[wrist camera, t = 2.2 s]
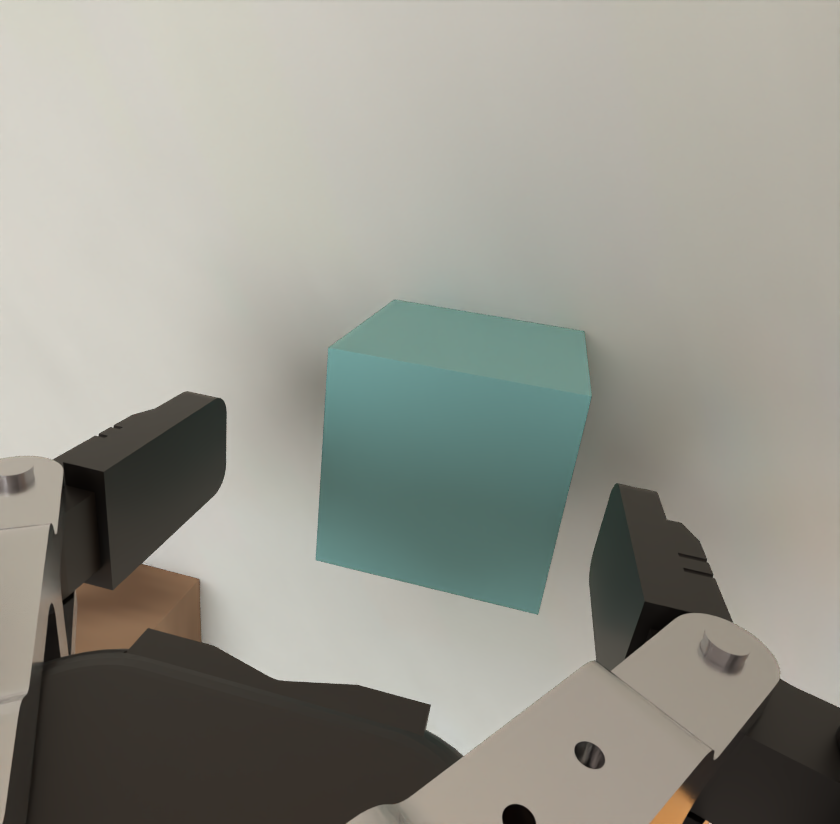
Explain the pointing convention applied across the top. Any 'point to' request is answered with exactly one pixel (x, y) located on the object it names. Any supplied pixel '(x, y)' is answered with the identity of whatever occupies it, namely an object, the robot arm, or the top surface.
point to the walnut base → (137, 609)
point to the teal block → (451, 450)
